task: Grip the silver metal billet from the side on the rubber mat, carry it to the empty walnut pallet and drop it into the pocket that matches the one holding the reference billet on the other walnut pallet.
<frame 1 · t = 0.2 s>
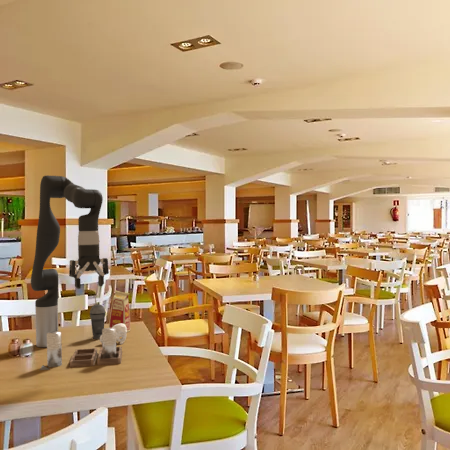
hand: (89, 287, 179), 29 cm above the table, tool pointing down, fingers open, 8 cm apart
reference billet: (109, 361, 181), point 1 cm above the table, touching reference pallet
rubber mat: (54, 367, 178), on the table
steel billet: (54, 365, 178), point 1 cm above the table, touching rubber mat
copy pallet: (84, 362, 184), on the table
beverage cup: (98, 338, 224), on the table
milk carton: (121, 331, 238), on the table
white animal figurine: (113, 344, 213), on the table
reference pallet: (110, 360, 186), on the table
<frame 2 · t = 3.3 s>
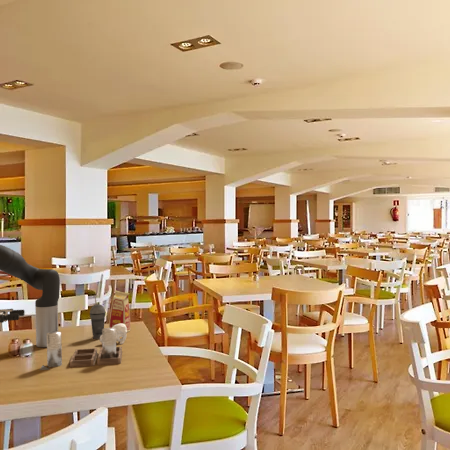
hand: (21, 314, 176), 20 cm above the table, tool horizontal, fingers open, 8 cm apart
nothing on the table moved.
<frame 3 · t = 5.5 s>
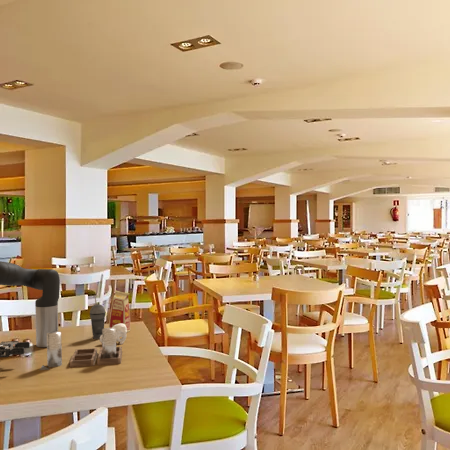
hand: (26, 347, 176), 8 cm above the table, tool horizontal, fingers open, 8 cm apart
nothing on the table moved.
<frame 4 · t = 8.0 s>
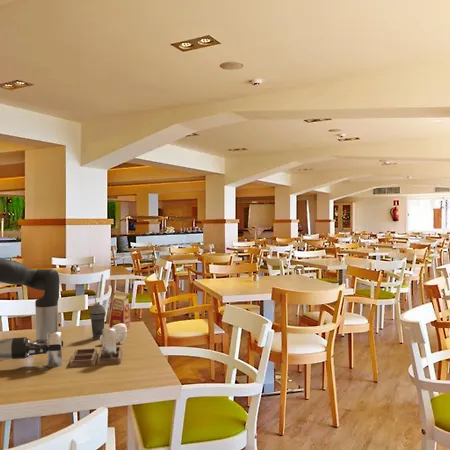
hand: (61, 345, 178), 8 cm above the table, tool horizontal, fingers closed on steel billet, 5 cm apart
steel billet: (54, 365, 178), point 1 cm above the table, touching gripper, rubber mat
everything else where it was.
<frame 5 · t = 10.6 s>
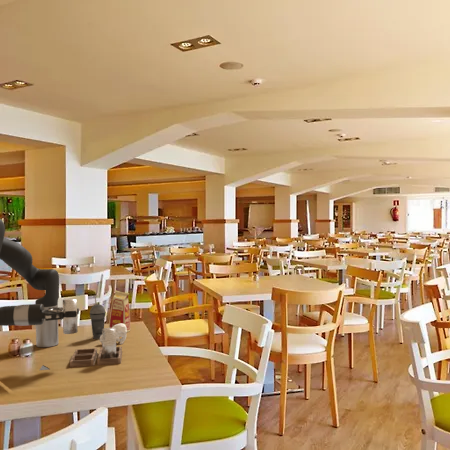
hand: (77, 312, 179), 20 cm above the table, tool horizontal, fingers closed on steel billet, 5 cm apart
steel billet: (70, 332, 178), point 13 cm above the table, touching gripper
everything else where it was.
when the fingers open (9 cm above the table, at t = 13.4 s): steel billet drops 1 cm, resting on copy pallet.
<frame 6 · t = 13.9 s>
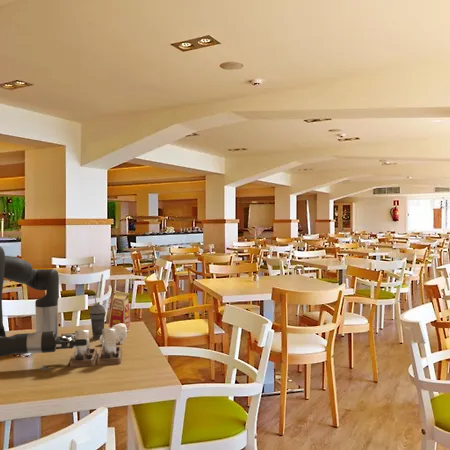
hand: (87, 339, 180), 10 cm above the table, tool horizontal, fingers open, 8 cm apart
steel billet: (82, 362, 179), point 1 cm above the table, touching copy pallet
everything else where it was.
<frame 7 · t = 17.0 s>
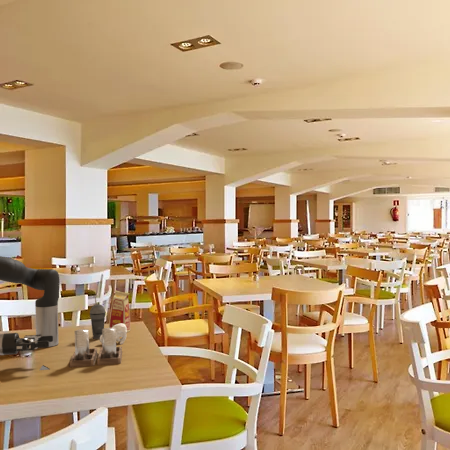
hand: (50, 341, 177), 10 cm above the table, tool horizontal, fingers open, 8 cm apart
nothing on the table moved.
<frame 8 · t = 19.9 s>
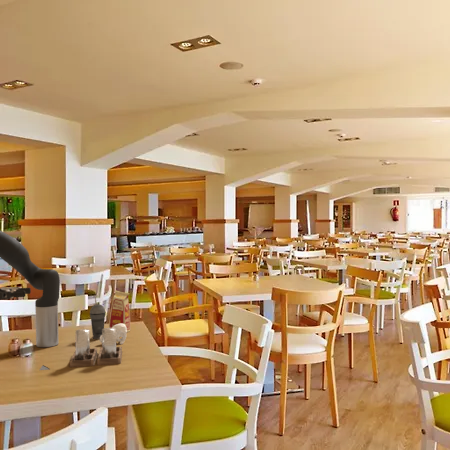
hand: (27, 292, 177), 28 cm above the table, tool horizontal, fingers open, 8 cm apart
nothing on the table moved.
at the end: steel billet 0.0 cm from the target spot on the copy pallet, point 1.1 cm above the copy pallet's base; steel billet tilted 1°; reference billet moved 0.0 cm from its start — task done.
